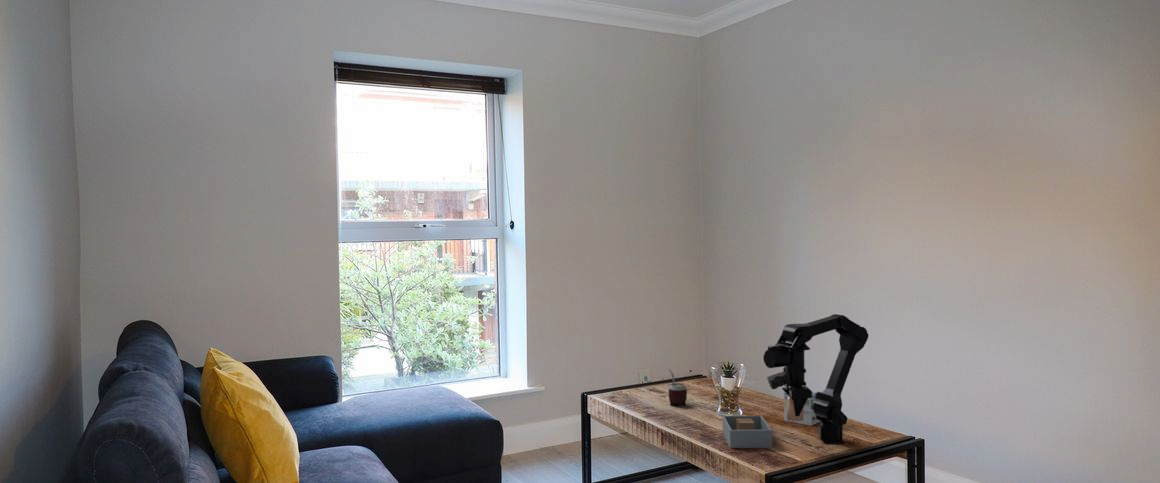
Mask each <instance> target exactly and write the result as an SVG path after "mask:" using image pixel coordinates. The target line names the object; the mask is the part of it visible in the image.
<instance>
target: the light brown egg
mask: <svg viewBox="0 0 1160 483" xmlns="http://www.w3.org/2000/svg"><path fill="white" fill-rule="evenodd" d="M787 419H788V420H791V421H802V420H803V409H802V411H801V413H800V416H795V411H794V405H793V400H792V399H791V398H790V397H789V396H787Z"/></svg>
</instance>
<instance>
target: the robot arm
mask: <svg viewBox="0 0 1160 483" xmlns="http://www.w3.org/2000/svg"><path fill="white" fill-rule="evenodd" d="M830 331H835V332H836V333H837V334H838V335H839V337H838V338H839V339H838V342H839V352H838V354H837V358H836V360H835V362H834V366H833V368H832V371H831V374H830V376H829V379H828V382H827V383H826V387H825V389H824V390H823V391H816V392H817V393H816V396H815V399H814V401H813V402H812V403H814V404H813V410H814V413H815V415H816V419H817V420H820V422H819V423H820V424H819V425H818V439H819V440H821V442H822V443H823V444H845V441H844V439H843V426H844V425H846V424H847V422H848V417H847V415H846V414H845V413H844V412H843V411H842V408H843V407H842V406H843V400H842V392H843V390H844V386H845V384H846V382H847V379H848V376H849V373H850V370H851V368H852V365H853V362H854V359H855V357H856V355H857V354H858V353H859V352H860V351H861V350H863V349H864V347H865V345H866V343H867V342H868V340H869V333H868V330H867V328H866V327H864V326H861V325H860V324H858V323H856V322H854V321H852V320H851V319H849V317H847V316H846V315H843V314H837V313H834V314H831V315H830V316H827V317H823V318H818V319H817V320H813V321H810V322H806V323H788V324H785V326H783V329H782V332H781V333H780V335H779V336H778V339H777V340H776V342H775V345H768V346H767V349H766V350H765V351H764V354H763V362H764V365H765V366H766V367H767V368H768V369H775V368H782V367H783V370H782V371H781V372H777V373H774V374H772V375H769V376H767V377H766V379H767V383H768V384H769V387H770V388H771V390H775V389H778V388H780V387H781V389H782V391H783V392H784V391H785V392H786V393H787V395H788V396H789V397H790V398H791V399H792V400H793V405H794V411H795V416H800V413H801V411H802V409H803V407H804V405H805V403H806V401H807V399H808V398H812V392H813V390H811V389H810V387H808V386H807V382H806V381H805V374H806V373H807V368H805V351H810V350H811V348H810V347H809V346H808V345H807V343H808V342H810V341H811V340H812V338H813V337H815V336H819V335H822V334H824V333H828V332H830ZM783 386H784V387H783Z"/></svg>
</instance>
